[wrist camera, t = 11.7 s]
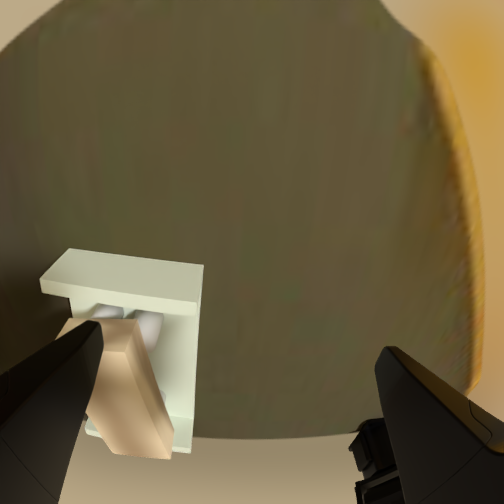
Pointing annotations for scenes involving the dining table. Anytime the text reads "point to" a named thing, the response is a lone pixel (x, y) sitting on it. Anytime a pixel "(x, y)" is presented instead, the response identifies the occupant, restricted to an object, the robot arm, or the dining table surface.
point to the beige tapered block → (127, 393)
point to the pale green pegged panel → (142, 317)
